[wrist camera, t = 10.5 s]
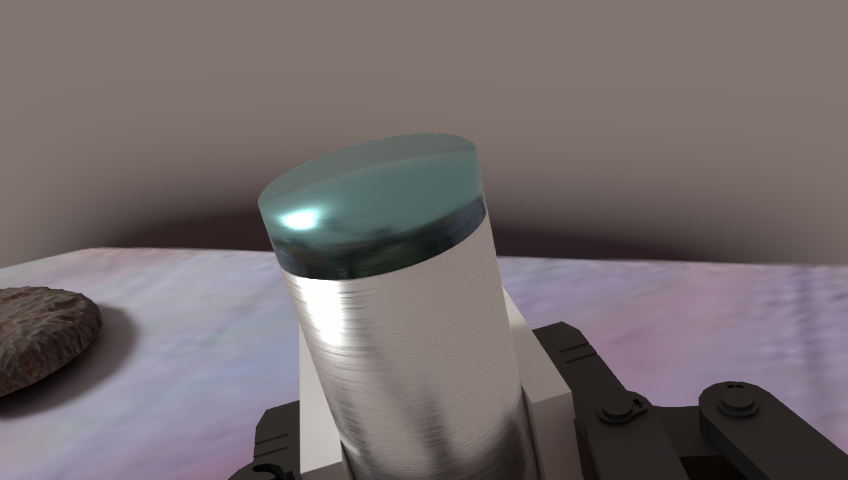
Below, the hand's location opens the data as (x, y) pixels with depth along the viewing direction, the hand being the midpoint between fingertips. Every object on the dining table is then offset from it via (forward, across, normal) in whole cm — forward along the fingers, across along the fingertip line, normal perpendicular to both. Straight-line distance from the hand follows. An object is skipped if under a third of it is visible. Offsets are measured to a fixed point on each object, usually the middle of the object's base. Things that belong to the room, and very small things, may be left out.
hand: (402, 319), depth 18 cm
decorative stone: (+33, -30, -13) cm, 47 cm away
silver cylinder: (-5, 0, -8) cm, 10 cm away
